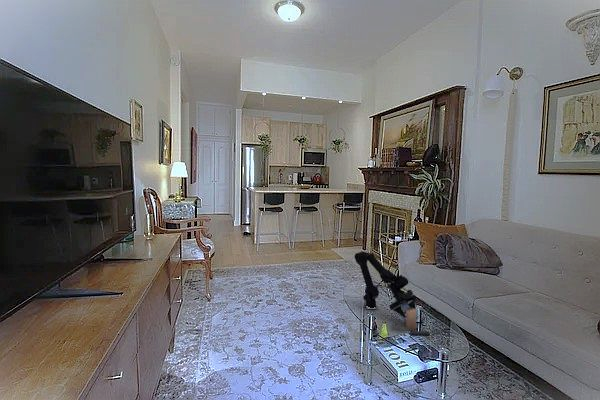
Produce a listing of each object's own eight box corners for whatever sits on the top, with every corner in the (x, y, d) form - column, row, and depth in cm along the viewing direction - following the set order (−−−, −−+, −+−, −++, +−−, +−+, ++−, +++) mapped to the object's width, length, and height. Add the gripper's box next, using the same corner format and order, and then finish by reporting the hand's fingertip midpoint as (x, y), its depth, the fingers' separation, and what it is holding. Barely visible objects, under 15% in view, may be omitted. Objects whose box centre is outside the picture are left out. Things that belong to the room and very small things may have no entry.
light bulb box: (402, 314, 215) (402, 299, 213) (394, 310, 221) (394, 295, 219) (413, 310, 220) (414, 295, 218) (406, 306, 225) (406, 291, 224)
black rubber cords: (410, 335, 191) (410, 332, 191) (404, 321, 206) (404, 318, 206) (430, 335, 190) (430, 332, 190) (422, 321, 205) (422, 318, 205)
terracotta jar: (408, 331, 195) (408, 313, 193) (403, 326, 201) (404, 308, 199) (417, 330, 196) (418, 312, 194) (413, 325, 202) (413, 307, 200)
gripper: (393, 290, 194) (407, 315, 187) (414, 282, 204) (429, 306, 196) (383, 297, 202) (396, 322, 195) (404, 289, 212) (418, 312, 204)
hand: (410, 315), depth 197 cm, fingers open, 9 cm apart
